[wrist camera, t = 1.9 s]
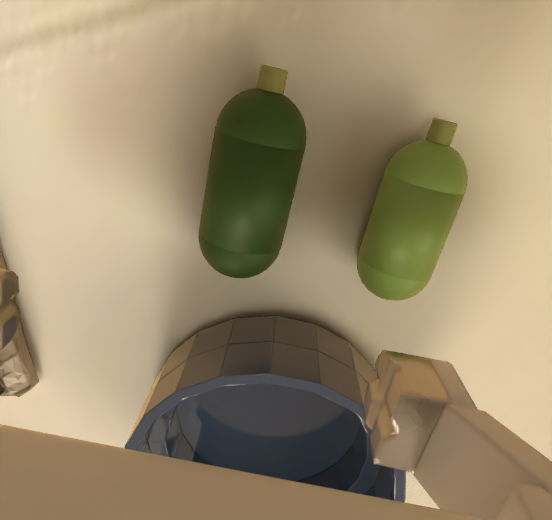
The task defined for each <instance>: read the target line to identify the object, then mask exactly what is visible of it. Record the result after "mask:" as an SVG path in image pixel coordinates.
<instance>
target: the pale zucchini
mask: <svg viewBox="0 0 552 520" xmlns="http://www.w3.org/2000/svg"><path fill="white" fill-rule="evenodd" d="M456 128H457V124H456V123H452V122H448V121H444V120H440V119H435V118H433V120H432V123H431V126H430V129H429V132H428V135H427V138H426V140H420V141H415V142H412V143H410V144H408V145H405V146H404V147H403V148H401V149H400V150H398V151H397V152H396V153H395V154H394V155H393V157H392V158H391V160H390V161H389V162H388V164H387V167H386V169H385V171H384V175H383V178H382V181H381V184H380V187H379V190H378V193H377V196H376V200H375V203H374V206H373V209H372V212H371V215H370V218H369V221H368V225H367V228H366V231H365V234H364V237H363V240H362V243H361V246H360V250H359V253H358V258H357V269H358V274H359V276H360V279H361V281H362V283H363V284H364V285H365V286H366V288H367V289H368V290H369V291H370V292H372V293H373V294H375V295H376V296H378V297H380V298H383V299H387V300H403V299H407V298H410V297H412V296H414V295H416V294H417V293H419V292H420V291H421V290H422V289H423V288H424V287H425V286H426V285H427V283H428V281H429V279H430V278H431V275H432V273H433V270H434V268H435V265H436V263H437V260H438V258H439V255H440V253H441V250H442V248H443V245H444V243H445V240H446V238H447V236H448V233H449V231H450V228H451V226H452V223H453V221H454V218H455V216H456V213H457V211H458V208H459V206H460V203H461V201H462V198H463V196H464V193H465V190H466V186H467V170H466V166H465V164H464V161H463V159H462V158H461V156H460V155H459V153H457V152H456V151H455V150H454V149H453V148H452V147H450V144H451V141H452V138H453V136H454V133H455V130H456Z"/></svg>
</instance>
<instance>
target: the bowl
mask: <svg viewBox="0 0 552 520" xmlns="http://www.w3.org/2000/svg"><path fill="white" fill-rule="evenodd" d="M376 376H377V374H376V372H375V369H374V368H373V367H372V366H371V365H370V363H369V362H368V361H367V360H366V359H365V358H364V357H363V356H362V355H361V354H360V353H359V352H358V351H357V350H356V349H355V348H354V347H353V346H352V345H351V344H350V343H349V342H347V341H346V340H344V339H342V338H340V337H338V336H336V335H334V334H332V333H331V332H329V331H327V330H325V329H323V328H321V327H319V326H318V325H315V324H313V323H308V322H303V321H298V320H294V319H289V318H284V317H279V316H263V317H248V318H235V319H231V320H229V321H226V322H223V323H220V324H218V325H215V326H212V327H209V328H207V329H204V330H201V331H199V332H197V333H196V334H195V335H193V336H192V337H191V338H190V339H188V340H187V341H186V342H185V343H183V344H182V345H181V346H180V347H178V348H177V349H176V350H174V351H173V352H172V353H171V354H170V356H169V357H168V359H167V361H166V362H165V364H164V366H163V367H162V369H161V371H160V373H159V374H158V376H157V378H156V379H155V381H154V384H153V386H152V388H151V390H150V392H149V395H148V397H147V399H146V401H145V403H144V406H143V408H142V410H141V412H140V414H139V416H138V419H137V421H136V423H135V425H134V427H133V430H132V432H131V434H130V436H129V438H128V441H127V443H126V445H125V449H130V450H135V451H140V452H145V453H150V454H156V455H161V456H166V457H171V458H176V459H181V460H187V461H192V462H197V463H202V464H207V465H212V466H218V467H223V468H228V469H233V470H238V471H243V472H249V473H254V474H259V475H264V476H269V477H274V478H280V479H285V480H290V481H295V482H300V483H306V484H311V485H316V486H321V487H326V488H331V489H337V490H342V491H347V492H352V493H357V494H362V495H368V496H373V497H378V498H383V499H388V500H394V501H399V502H405V495H406V471H404V470H400V469H395V468H391V467H386V466H382V465H377V464H374V462H373V457H372V453H371V448H370V444H369V436H370V434H371V431H372V430H371V429H370V428H369V427H368V426H367V425H366V424H365V420H364V413H363V404H364V397H365V392H366V389H367V386H368V383H369V381H370V380H372V379H373V378H375V377H376Z"/></svg>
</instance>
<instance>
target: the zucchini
mask: <svg viewBox="0 0 552 520" xmlns="http://www.w3.org/2000/svg"><path fill="white" fill-rule="evenodd" d="M287 74H288V71H287V70H283V69H279V68H275V67H270V66H266V65H261V68H260V73H259V79H258V84H257V89H250V90H247V91H243V92H241V93H240V94H238V95H236V96H234V97H233V98H232V99H231V100H230V101H229V102H228V103H227V104H226V105H225V107H224V108H223V109H222V111H221V113H220V115H219V117H218V120H217V124H216V127H215V133H214V139H213V146H212V152H211V158H210V164H209V171H208V177H207V183H206V190H205V196H204V202H203V209H202V215H201V221H200V227H199V243H200V248H201V251H202V253H203V256H204V257H205V259H206V260H207V262H208V263H209V264H210V265H211V266H212V267H213V268H214V269H215V270H216V271H218V272H219V273H222V274H224V275H226V276H229V277H233V278H249V277H252V276H255V275H258V274H260V273H262V272H263V271H265V270H266V269H267V268H268V267H269V266H270V265H271V264H272V263H273V262H274V261H275V259H276V258H277V256H278V254H279V251H280V248H281V245H282V241H283V237H284V233H285V229H286V224H287V220H288V216H289V212H290V208H291V204H292V200H293V196H294V191H295V187H296V183H297V179H298V175H299V171H300V167H301V162H302V158H303V154H304V150H305V145H306V127H305V123H304V119H303V117H302V115H301V113H300V111H299V110H298V108H297V107H296V105H295V104H294V103H293V102H292V101H291V100H290V99H289V98H287V97H286V96H284V95H283V93H284V88H285V84H286V79H287Z"/></svg>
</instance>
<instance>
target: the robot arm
mask: <svg viewBox="0 0 552 520" xmlns="http://www.w3.org/2000/svg"><path fill="white" fill-rule="evenodd" d="M18 292H19V281H18V276H17V275H16V274H15V273H14V272H13V271H9V270H4V269H0V350H2V349H3V348H4V347H5V346H6V345H7V344H8V343H9V342H10V341H11V339H12V337H13V336H14V334H15V332H16V330H17V326H18V322H19V308H18V307H17V305H16V304H15V302H14V301H13V299H12V298H13V297H14V296H15V295H16V294H17V293H18ZM375 367H376V371H377V374H378V376H376V377H375V378H373V379H372V380H370V381H369V383H368V386H367V389H366V392H365V397H364V404H363V413H364V420H365V424H366V425H367V426H368V427H369V428H370V429H371V430H372V431H371V434H370V436H369V444H370V448H371V453H372V457H373V462H374V464H377V465H382V466H386V467H391V468H395V469H400V470H404V471H408V472H413V473H414V474H413V475H414V476H415V477H416V479H417V480H418V481H419V483H420V484H421V485H422V486H423V488H424V489H425V490H426V492H427V493H428V494H429V495H430V497H431V498H432V499H433V500H434V502H435V503H436V504H437V506H438V507H439V508H440V509H441V510H440V509H435V508H430V507H425V506H419V505H414V504H409V503H404V502H399V501H394V500H388V499H383V498H378V497H373V496H368V495H362V494H357V493H352V492H347V491H342V490H337V489H331V488H326V487H321V486H316V485H311V484H306V483H300V482H295V481H290V480H285V479H280V478H274V477H269V476H264V475H259V474H254V473H249V472H243V471H238V470H233V469H228V468H223V467H218V466H212V465H207V464H202V463H197V462H192V461H187V460H181V459H176V458H171V457H166V456H161V455H156V454H150V453H145V452H140V451H135V450H130V449H125V448H119V447H114V446H109V445H104V444H99V443H94V442H88V441H83V440H78V439H73V438H68V437H63V436H57V435H52V434H47V433H42V432H37V431H32V430H27V429H21V428H16V427H11V426H6V425H1V424H0V520H552V462H551V461H550V460H549V459H547V458H546V457H545V456H543V455H542V454H541V453H539V452H538V451H537V450H536V449H534V448H533V447H532V446H530V445H529V444H528V443H526V442H525V441H524V440H522V439H521V438H520V437H518V436H517V435H516V434H514V433H513V432H512V431H510V430H509V429H508V428H506V427H505V426H504V425H502V424H501V423H500V422H498V421H497V420H496V419H494V418H493V417H492V416H490V415H489V414H488V413H486V412H485V411H480V410H478V409H477V407H476V406H475V404H474V402H473V400H472V399H471V397H470V395H469V393H468V392H467V390H466V388H465V386H464V385H463V383H462V381H461V379H460V378H459V376H458V374H457V372H456V371H455V369H454V367H453V365H452V364H450V363H449V362H447V361H441V360H435V359H429V358H425V357H419V356H414V355H408V354H403V353H397V352H392V351H386V350H382V352H381V353H380V355H379V356H378V359H377V362H376V364H375Z"/></svg>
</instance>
